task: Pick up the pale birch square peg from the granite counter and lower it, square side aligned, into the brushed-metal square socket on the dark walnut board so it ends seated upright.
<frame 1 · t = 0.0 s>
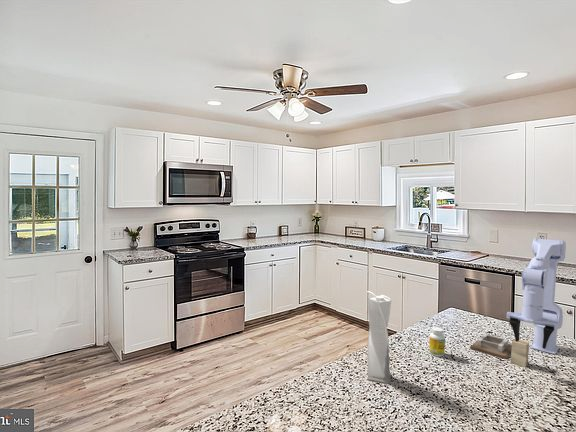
hand: (530, 344, 121), 10 cm above the countertop, tool pointing down, fingers open, 7 cm apart
supplement bottle: (436, 354, 135), on the countertop
birch peg: (519, 363, 128), on the countertop
skyscraper: (377, 376, 118), on the countertop
socket board: (492, 348, 141), on the countertop
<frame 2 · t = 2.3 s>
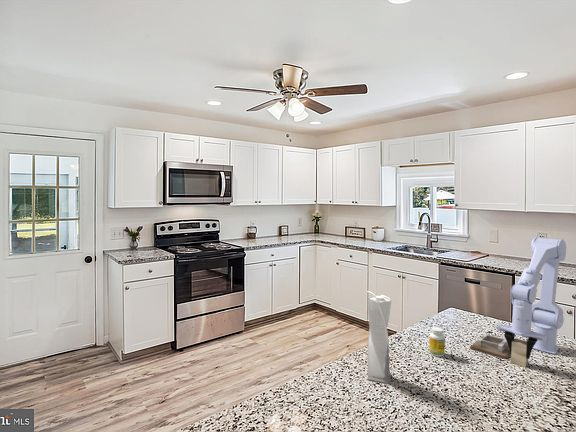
hand: (519, 355, 128), 3 cm above the countertop, tool pointing down, fingers closed on birch peg, 4 cm apart
birch peg: (519, 363, 128), on the countertop, touching gripper
everything else where it was.
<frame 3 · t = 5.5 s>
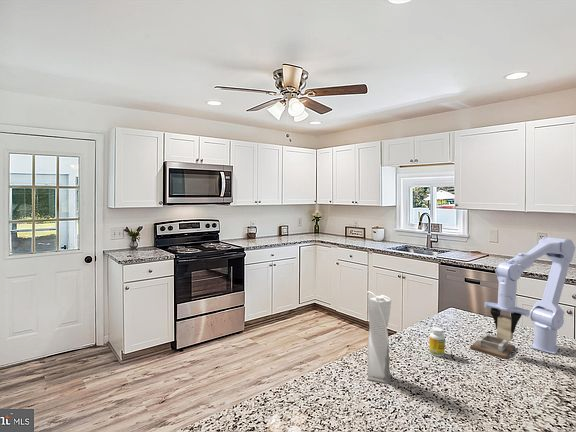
hand: (505, 330, 134), 9 cm above the countertop, tool pointing down, fingers closed on birch peg, 4 cm apart
birch peg: (504, 338, 135), point 6 cm above the countertop, touching gripper
everything else where it was.
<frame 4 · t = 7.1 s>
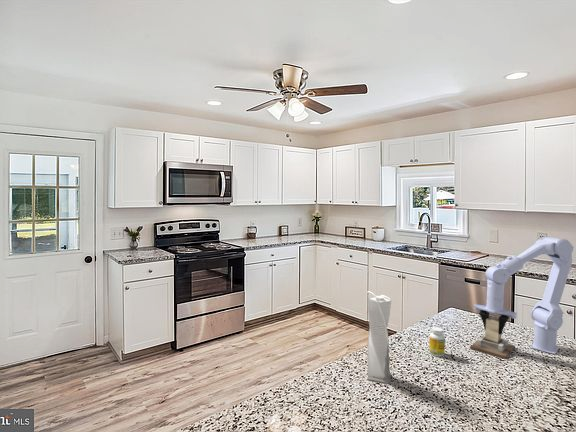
hand: (493, 331, 140), 7 cm above the countertop, tool pointing down, fingers closed on birch peg, 4 cm apart
birch peg: (492, 339, 140), point 4 cm above the countertop, touching gripper
everything else where it was.
when the fingers open (5 cm above the countertop, at t = 8.6 s): birch peg drops 1 cm, resting on socket board.
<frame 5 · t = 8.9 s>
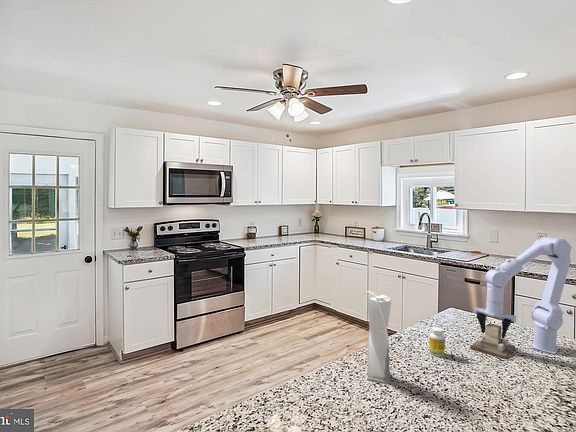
hand: (493, 334, 140), 5 cm above the countertop, tool pointing down, fingers open, 6 cm apart
birch peg: (492, 345, 140), point 1 cm above the countertop, touching socket board
everything else where it was.
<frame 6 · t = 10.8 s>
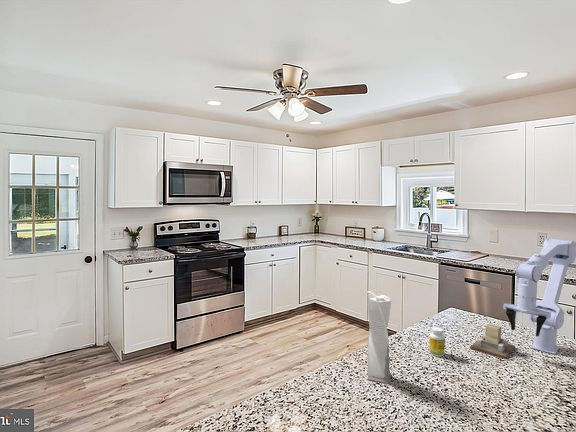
hand: (525, 332, 132), 10 cm above the countertop, tool pointing down, fingers open, 7 cm apart
nothing on the countertop moved.
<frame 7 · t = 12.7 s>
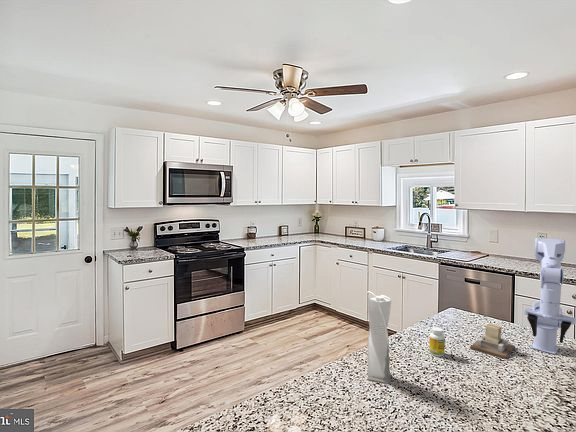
hand: (547, 338, 127), 9 cm above the countertop, tool pointing down, fingers open, 7 cm apart
nothing on the countertop moved.
at the end: birch peg 0.0 cm off-centre on the socket board, point 1.0 cm above the socket board's base; birch peg tilted 0°; the gripper is holding nothing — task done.
